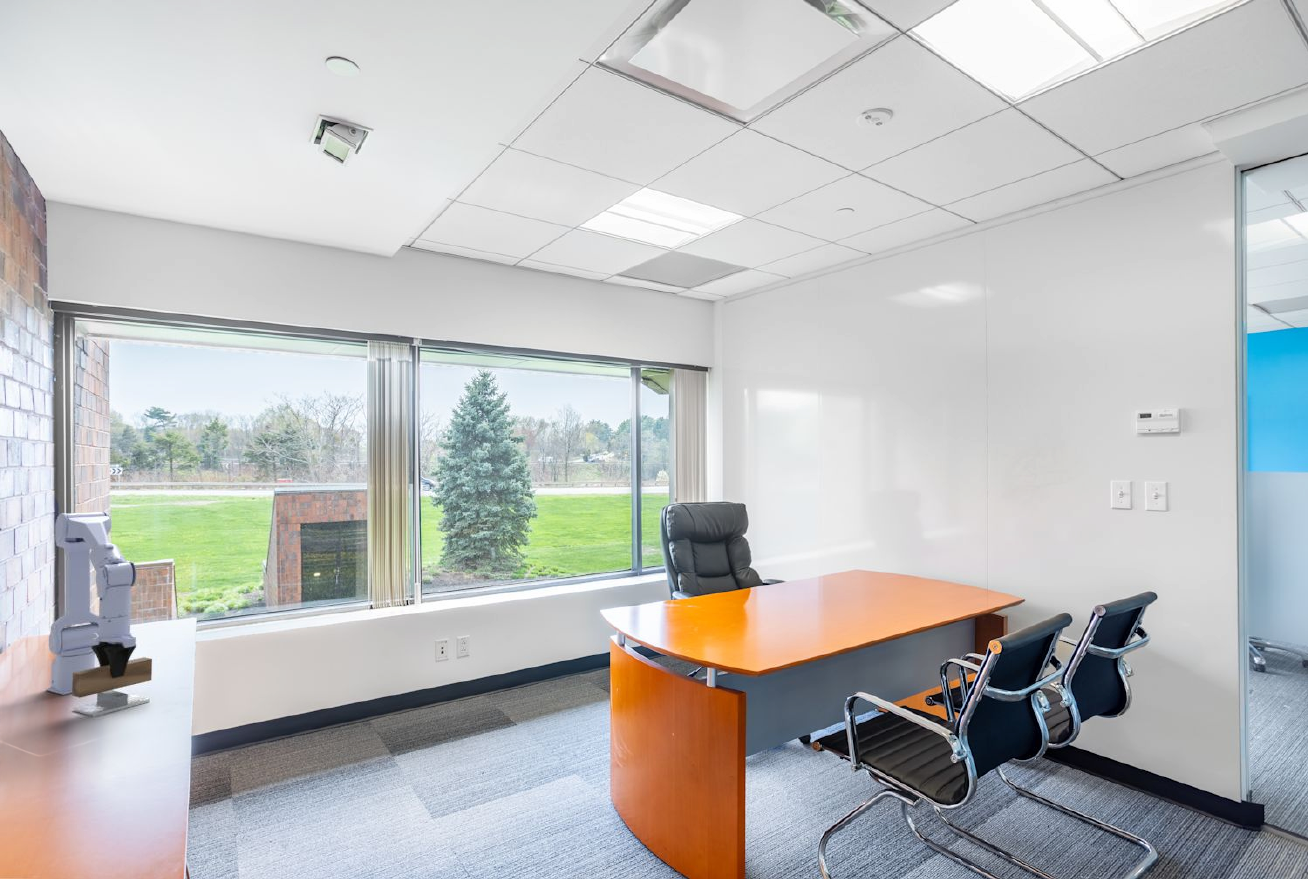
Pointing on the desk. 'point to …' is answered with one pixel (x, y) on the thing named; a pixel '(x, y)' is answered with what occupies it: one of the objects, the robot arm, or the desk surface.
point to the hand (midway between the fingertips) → (113, 675)
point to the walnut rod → (110, 678)
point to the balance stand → (110, 703)
